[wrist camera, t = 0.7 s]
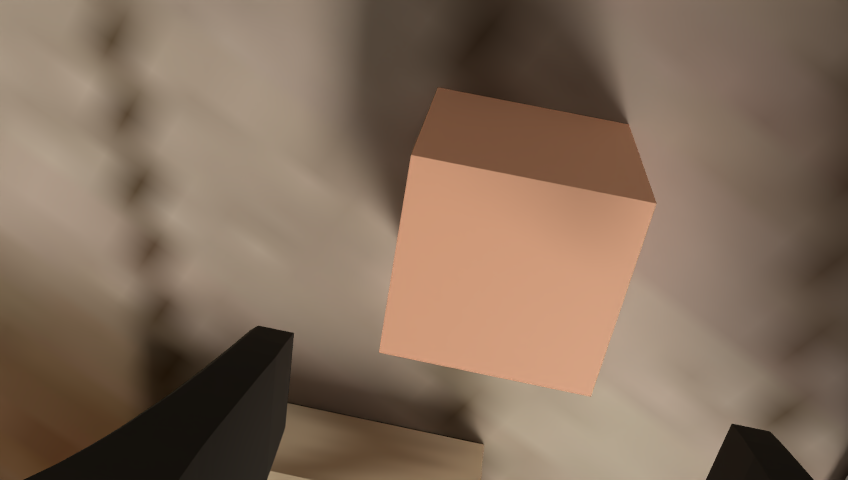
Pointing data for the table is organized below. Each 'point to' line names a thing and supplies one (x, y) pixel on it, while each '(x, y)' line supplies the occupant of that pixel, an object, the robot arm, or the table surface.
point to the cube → (516, 241)
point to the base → (368, 451)
